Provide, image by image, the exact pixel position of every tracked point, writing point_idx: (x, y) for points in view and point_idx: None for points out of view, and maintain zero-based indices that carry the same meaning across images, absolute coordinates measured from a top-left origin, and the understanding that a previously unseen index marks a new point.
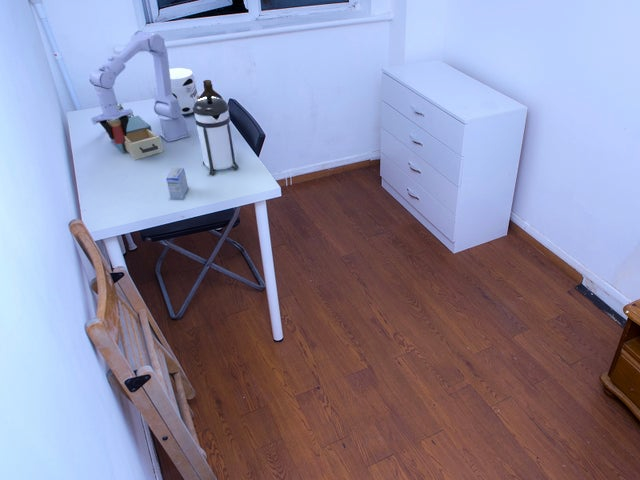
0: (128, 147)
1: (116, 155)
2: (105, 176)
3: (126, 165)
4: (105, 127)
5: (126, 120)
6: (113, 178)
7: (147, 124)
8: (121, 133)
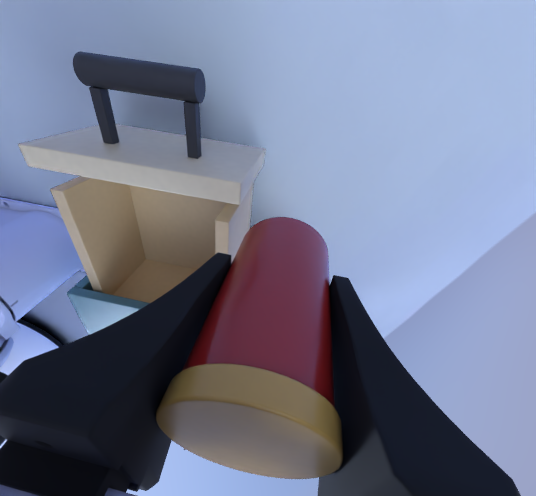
0: (242, 238)
1: None
2: (498, 92)
3: (320, 140)
4: (462, 441)
5: (34, 386)
6: (505, 7)
7: (81, 313)
8: (252, 270)
